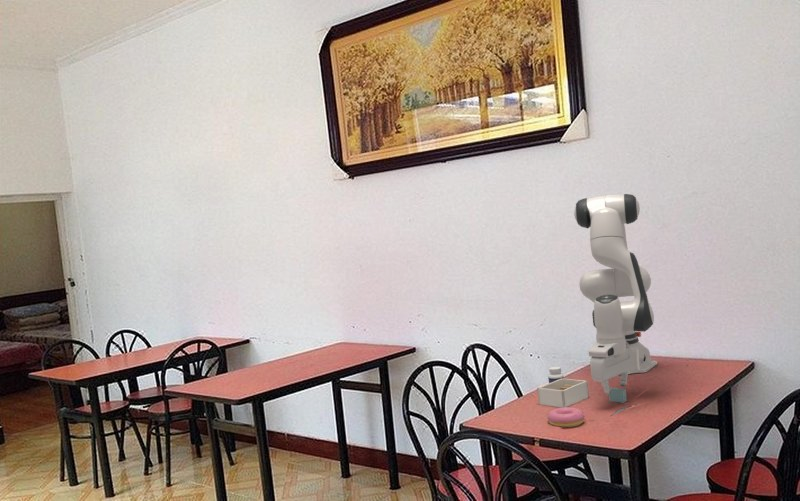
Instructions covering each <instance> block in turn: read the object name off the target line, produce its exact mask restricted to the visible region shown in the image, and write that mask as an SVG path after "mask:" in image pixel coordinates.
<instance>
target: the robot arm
mask: <svg viewBox="0 0 800 501" xmlns="http://www.w3.org/2000/svg"><path fill="white" fill-rule="evenodd" d="M640 208H641V207H640V203H639V201H638V199H637V197H636V196H635V195H634V194H630V193H624V194H606V195H600V196H594V197H590V198H582V199H578V200H577V202H576V203H575V207H574V209H573V210H574V212H573V215H574V219H575V221H576V224H577V225H578V226H579V227H581V228H585V229H589V230H590V231H589V238H590V239H589V240H590V241H589V242H590V250H591V251H590V252H591V255H592V257H593V259H594V260H595V261H596V262H598V264H600V265H603V267H604V266H605V267H608V268H604V269H594V270H591V271H587V272H584V273H583V274H582V275H581V277H580V278H579V290H580V291H581V294H582V295H583V297H585V298H587V299H589V300H590V301H591V302H592V303H594V304H593V310H592V325H593V327H594V328H595V329H596V335H595V339H596V340H595V342H594V344H593V345H592V346H591V347H590V348H589V350H588V356H589V357H590V361H589V365H590V376H591V378H592V380H593V382H600V385H601V386H602V388H603V392H604V394H609V393H610V392H611V388H612V386H610V384H609V382H610V381H609V380H610V379H612V378H615V377H618V376H619V375H620V379H619V381H618V382H619V386H620V387H625V386H627V385H628V383H627V382H628V377H629V375H630V374H639V373H641V374H643V373H647V372H648V371H650V370H651V369H653V368H654V367H656V366H657V365H658V361H656V360H653V359H651V354H650V351H649V348H647V347H646V346H645V345H643V344H642V343H641V342H639V341H640V340H639V338H641V337H642V332H643V333H645V332H647V331H648V330H649V329H650V328H651V327H652V326H653V325H654V321H655V315H654V311H653V308H652V306H651V304H650V302H649V298H648V294H647V292H648V291H650V290H649V289H650V288H651V284H652V278H651V276H650V275H651V274H649V272H648V271H647V269H646V268H644V267H643V266H640V265H639V262H638V259H637V257H636V255H635V253H633V252H631V251H630V250H629V249H628V242H627V234H626V226H625V224H626V225H630V224H632V223H635V222H636V221H637V220H638V217H639V215H640V212H641V211H640V210H641V209H640ZM625 297H634V299H633V300H632V301H631V300H630V301H620V298H625Z"/></svg>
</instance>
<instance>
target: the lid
mask: <svg viewBox="0 0 800 501" xmlns="http://www.w3.org/2000/svg"><path fill="white" fill-rule="evenodd" d="M608 398H609V402H616V403H621V404H622V403H623V404H624V403H625V402H627V400H628V399H627V390H626V388H618V387H611V392H610V393H608ZM630 407H632V405H630V406H627V407H623V408H620V409H618V410H616V411H615V412H614V413H612V414H611V415H610V417H612V416H614V415H616V414H618V413H621V412H622V411H624V410H626V408H627V409H629V408H630Z"/></svg>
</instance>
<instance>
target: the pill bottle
mask: <svg viewBox="0 0 800 501" xmlns="http://www.w3.org/2000/svg"><path fill="white" fill-rule="evenodd" d="M548 371H549V374H548V375H547V378H548V384H549V383H552V382H554V381H557V380H559V379H562V378H563V379H565V378H564V374H563V373H562V368H561V367H560V366H552V367H549V368H548Z"/></svg>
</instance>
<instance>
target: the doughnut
mask: <svg viewBox="0 0 800 501" xmlns="http://www.w3.org/2000/svg"><path fill="white" fill-rule="evenodd" d="M546 416H547V418H546V419H547V421H548V423H549V425H551V426H554V427H555V426H556V427H560V428H561V427H563V429H565V428H567V427H568V428H574V427H578V426H580V425H582V424H583V423H584V421H585V413H584V412H583V411H582V409H580V408H578V407H577V408H576V407H572V406H571V407H570V406H568V407H562V408H561V407H556V408H554V409H552V410H550V411H549V412H548V413H547V415H546Z"/></svg>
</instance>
